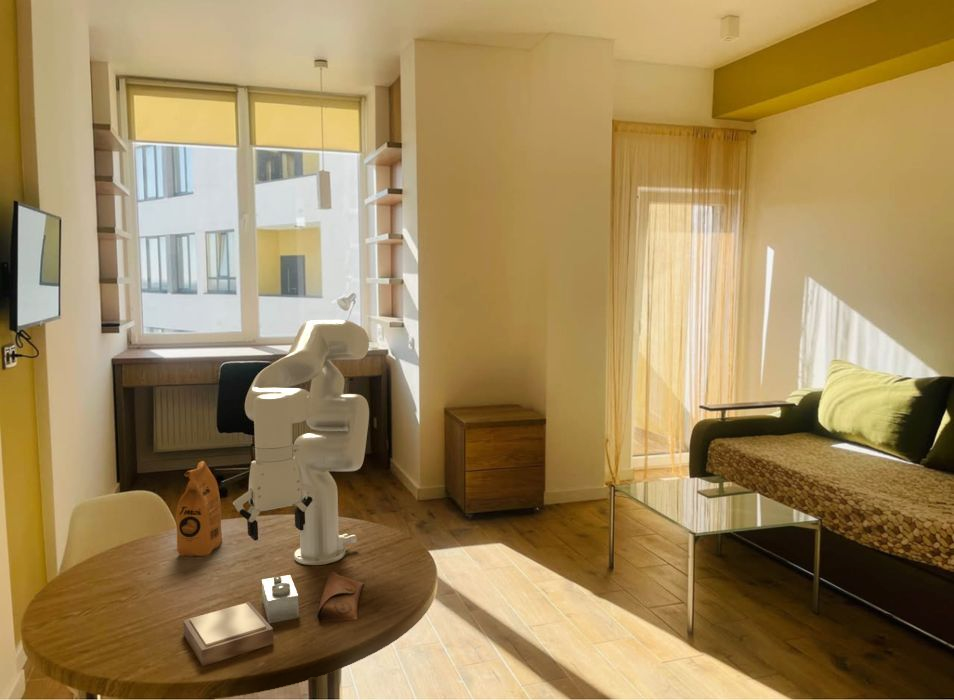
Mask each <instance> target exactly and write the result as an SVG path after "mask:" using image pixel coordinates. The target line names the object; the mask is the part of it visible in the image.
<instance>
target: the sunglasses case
mask: <svg viewBox="0 0 954 700" xmlns="http://www.w3.org/2000/svg"><path fill="white" fill-rule="evenodd" d="M363 584H365V583H364V582H361V581H358V580H354V579H351V578H349V577H345V576H343V575H340V574H338V573H336V572H334V571H332V572H330V573H329V574H328V577H327V580H326V582H325V584H324V588H323V591H322V595H321V598H320V601H319V606H318V611H317V613H316V614H317V615H316V616H317V619H318V621H319V622H320V623H324V622H338V621H350V620H351V621H352V620H358V616H359V612H358V610H359V609H358V607H359V601H360V596H361V592H362V589H363V587H364V585H363ZM362 586H363V587H362Z"/></svg>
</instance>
